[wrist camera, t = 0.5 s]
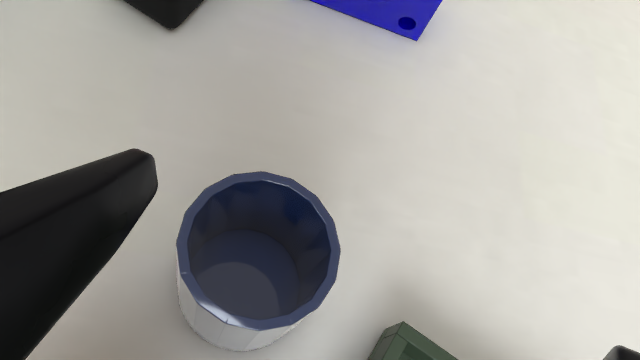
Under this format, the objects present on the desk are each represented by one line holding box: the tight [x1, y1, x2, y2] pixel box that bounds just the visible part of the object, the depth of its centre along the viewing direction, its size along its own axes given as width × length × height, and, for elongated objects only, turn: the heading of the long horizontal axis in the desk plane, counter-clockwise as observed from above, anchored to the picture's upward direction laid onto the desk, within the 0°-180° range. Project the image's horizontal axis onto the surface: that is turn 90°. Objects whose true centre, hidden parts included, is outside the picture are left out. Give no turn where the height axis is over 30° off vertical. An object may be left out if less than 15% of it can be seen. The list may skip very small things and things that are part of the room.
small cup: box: [176, 171, 341, 351], centre depth 21 cm, size 5×5×6 cm
